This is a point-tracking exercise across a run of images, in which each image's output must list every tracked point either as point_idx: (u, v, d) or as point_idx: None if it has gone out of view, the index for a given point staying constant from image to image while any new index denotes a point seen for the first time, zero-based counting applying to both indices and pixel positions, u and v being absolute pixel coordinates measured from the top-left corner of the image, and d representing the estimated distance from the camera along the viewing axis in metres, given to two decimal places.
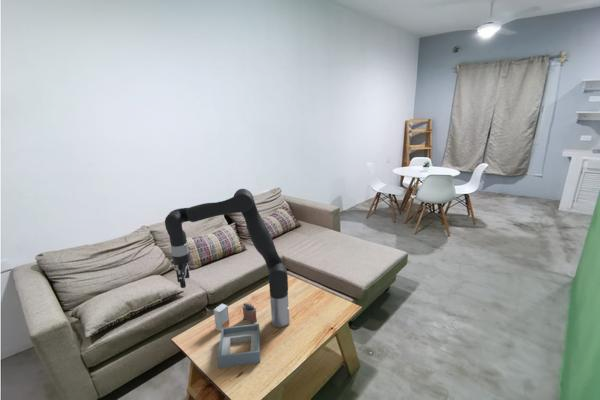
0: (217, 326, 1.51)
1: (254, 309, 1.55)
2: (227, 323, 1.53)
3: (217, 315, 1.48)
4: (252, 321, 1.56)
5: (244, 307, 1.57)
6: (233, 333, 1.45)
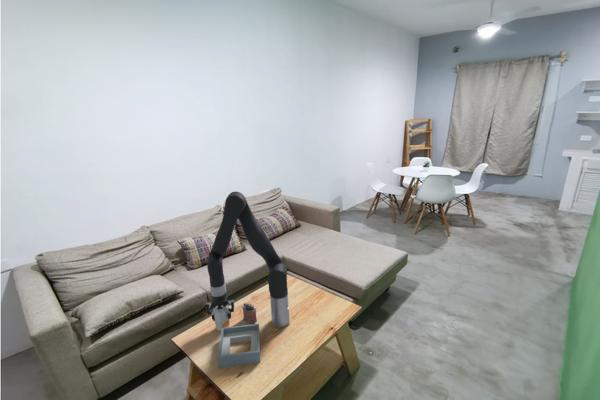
0: (217, 326, 1.51)
1: (254, 309, 1.55)
2: (227, 323, 1.53)
3: (217, 315, 1.48)
4: (252, 321, 1.56)
5: (244, 307, 1.57)
6: (233, 333, 1.45)
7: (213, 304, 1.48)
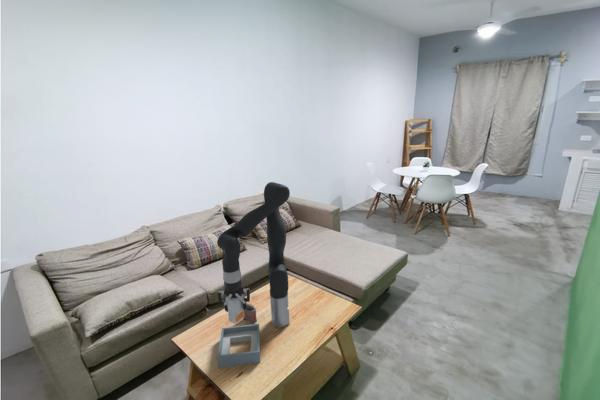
0: (230, 318, 1.31)
1: (254, 309, 1.55)
2: (242, 315, 1.34)
3: (230, 305, 1.29)
4: (252, 321, 1.56)
5: None
6: (233, 333, 1.45)
7: (226, 292, 1.28)
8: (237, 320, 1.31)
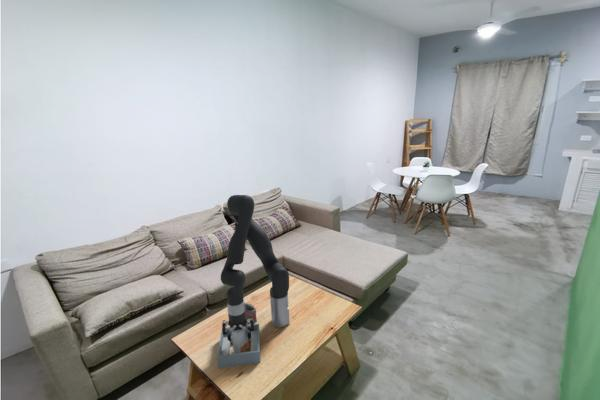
0: (235, 349, 1.36)
1: (254, 309, 1.55)
2: (246, 345, 1.38)
3: (235, 337, 1.33)
4: None
5: None
6: None
7: (230, 324, 1.32)
8: (242, 351, 1.36)
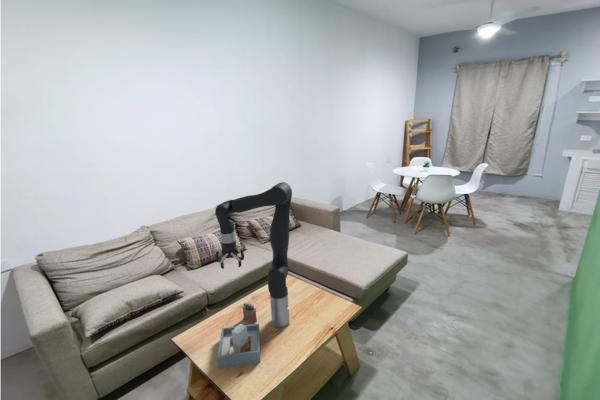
0: (235, 349, 1.36)
1: (254, 309, 1.55)
2: (246, 345, 1.38)
3: (235, 337, 1.33)
4: (252, 321, 1.56)
5: (244, 307, 1.57)
6: None
7: (223, 252, 1.52)
8: (242, 351, 1.36)
